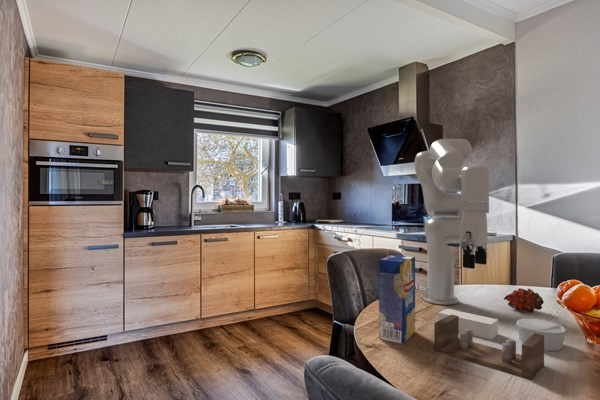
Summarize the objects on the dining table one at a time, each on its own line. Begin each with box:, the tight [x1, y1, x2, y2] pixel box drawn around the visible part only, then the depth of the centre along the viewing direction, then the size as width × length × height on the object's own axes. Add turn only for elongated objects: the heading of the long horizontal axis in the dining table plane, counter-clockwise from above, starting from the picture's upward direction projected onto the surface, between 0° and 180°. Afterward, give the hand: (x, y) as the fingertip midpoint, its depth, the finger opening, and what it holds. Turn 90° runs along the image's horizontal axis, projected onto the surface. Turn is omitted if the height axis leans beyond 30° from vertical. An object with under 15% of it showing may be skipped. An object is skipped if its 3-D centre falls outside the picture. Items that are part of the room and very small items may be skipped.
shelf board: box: [438, 308, 499, 341], centre depth 111 cm, size 15×6×4 cm, turn 44°
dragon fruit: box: [503, 288, 545, 313], centre depth 130 cm, size 8×8×12 cm
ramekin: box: [515, 318, 567, 352], centre depth 100 cm, size 11×11×5 cm
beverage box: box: [378, 254, 416, 345], centre depth 106 cm, size 7×11×22 cm, turn 147°
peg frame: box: [433, 315, 545, 381], centre depth 92 cm, size 22×10×7 cm, turn 44°
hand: (474, 265), depth 110 cm, fingers open, 9 cm apart
